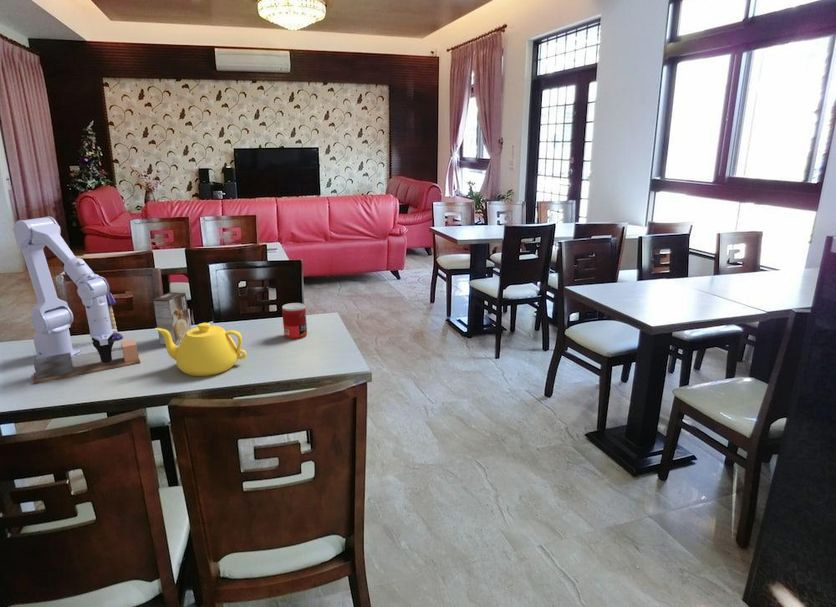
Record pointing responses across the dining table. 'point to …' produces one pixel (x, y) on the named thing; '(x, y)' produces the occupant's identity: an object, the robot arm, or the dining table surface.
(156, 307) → the coffee box
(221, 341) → the teapot
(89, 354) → the grey banded bar
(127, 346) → the peach-orange block
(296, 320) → the canned food
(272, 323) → the dining table surface
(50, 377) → the brown wooden bar
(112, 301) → the toy lamp
